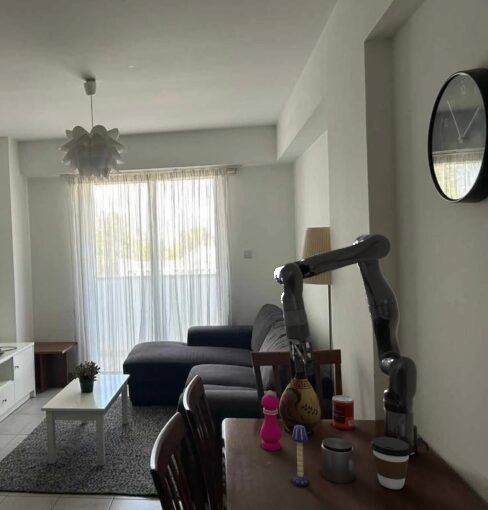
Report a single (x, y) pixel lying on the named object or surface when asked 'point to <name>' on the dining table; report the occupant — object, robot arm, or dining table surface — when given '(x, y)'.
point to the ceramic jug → (299, 402)
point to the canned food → (343, 412)
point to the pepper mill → (270, 423)
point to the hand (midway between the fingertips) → (304, 373)
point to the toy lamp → (300, 453)
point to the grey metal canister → (337, 460)
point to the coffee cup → (391, 461)
